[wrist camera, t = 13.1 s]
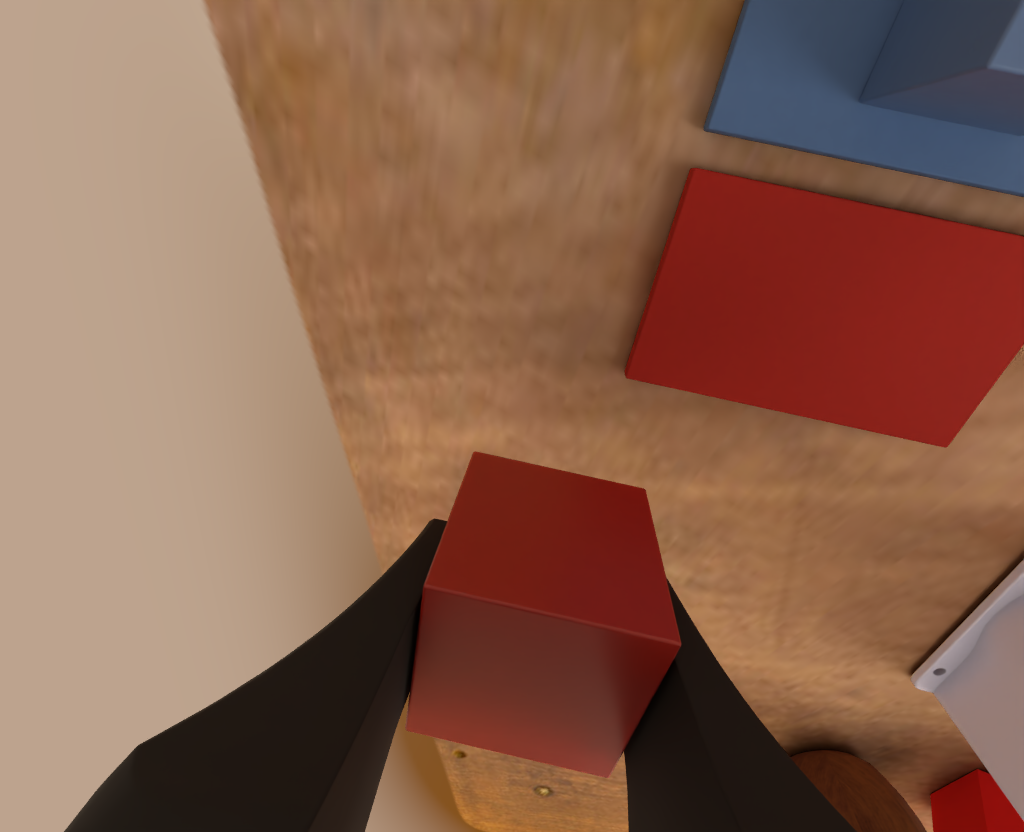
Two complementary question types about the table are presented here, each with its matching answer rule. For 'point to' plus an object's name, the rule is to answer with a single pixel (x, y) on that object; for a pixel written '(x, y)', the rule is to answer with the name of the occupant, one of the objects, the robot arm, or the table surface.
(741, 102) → the blue mat
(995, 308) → the red mat
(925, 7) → the blue block
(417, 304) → the table surface
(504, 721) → the red block
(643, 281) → the table surface
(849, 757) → the wooden figurine
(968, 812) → the red dodecahedron
